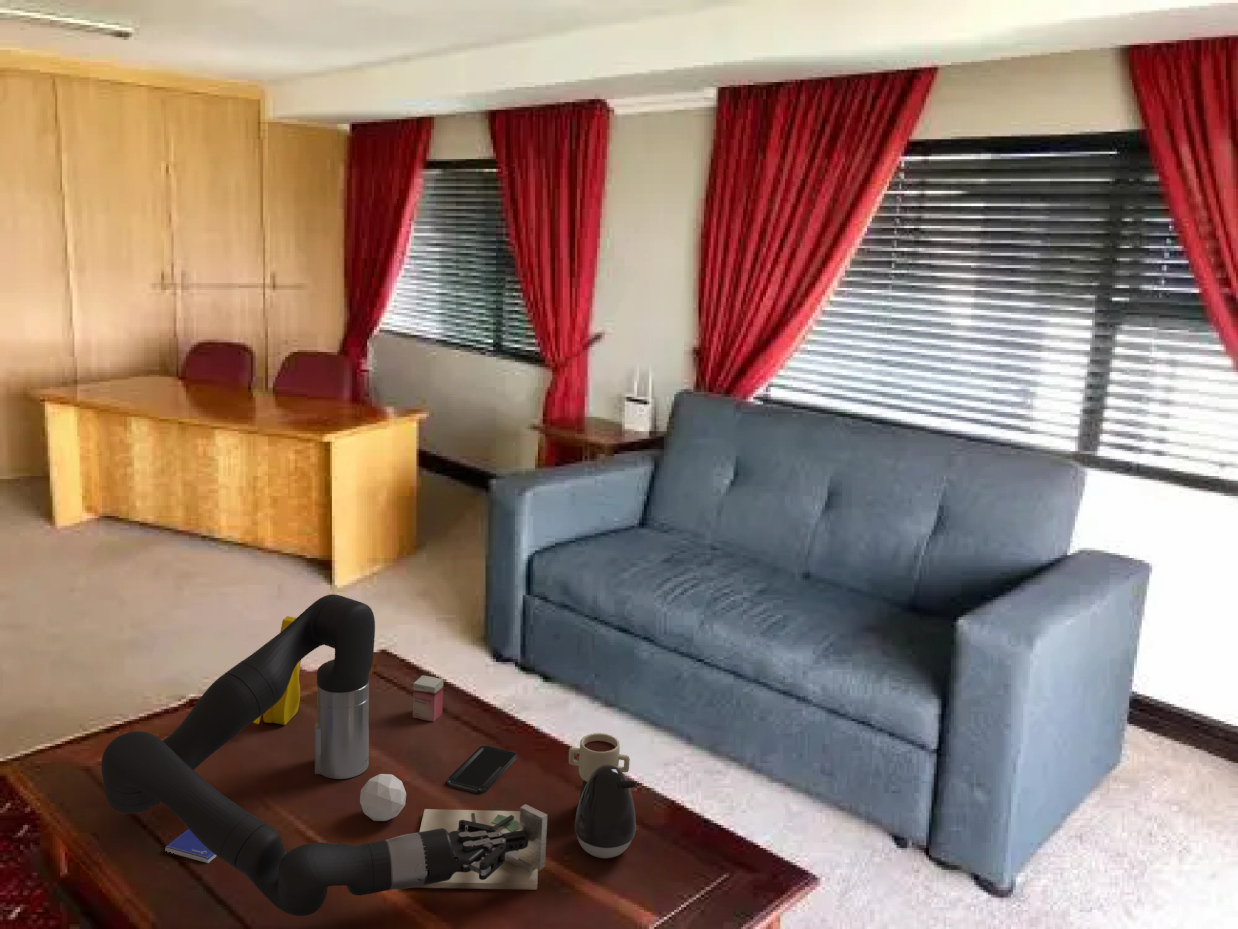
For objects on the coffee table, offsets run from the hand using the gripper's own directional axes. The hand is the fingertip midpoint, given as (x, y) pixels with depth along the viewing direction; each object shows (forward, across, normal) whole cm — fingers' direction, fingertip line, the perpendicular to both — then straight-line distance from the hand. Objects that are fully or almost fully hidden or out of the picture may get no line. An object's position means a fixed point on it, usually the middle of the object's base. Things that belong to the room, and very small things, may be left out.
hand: (526, 838), depth 160 cm
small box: (-1, -58, -8) cm, 59 cm away
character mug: (+19, -15, -7) cm, 25 cm away
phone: (+4, -34, -8) cm, 35 cm away
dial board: (-4, -10, -8) cm, 13 cm away
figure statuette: (-29, -66, -9) cm, 72 cm away
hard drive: (-44, -28, -9) cm, 53 cm away
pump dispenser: (+16, -3, -7) cm, 17 cm away
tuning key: (+1, -7, -6) cm, 9 cm away
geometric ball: (-17, -25, -8) cm, 31 cm away
